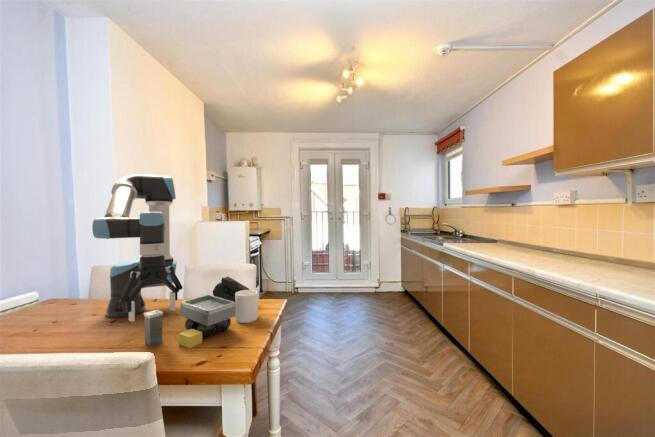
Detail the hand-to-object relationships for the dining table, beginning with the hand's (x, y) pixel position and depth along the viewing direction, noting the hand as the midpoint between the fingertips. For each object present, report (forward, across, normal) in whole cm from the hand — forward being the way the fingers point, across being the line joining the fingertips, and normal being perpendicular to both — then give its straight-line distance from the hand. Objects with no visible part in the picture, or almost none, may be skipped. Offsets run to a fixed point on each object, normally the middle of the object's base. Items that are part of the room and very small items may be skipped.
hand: (153, 315), depth 103 cm
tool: (+10, +41, +10) cm, 44 cm away
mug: (+10, +35, -8) cm, 38 cm away
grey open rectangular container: (+10, +17, -6) cm, 21 cm away
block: (+10, +8, -11) cm, 17 cm away
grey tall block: (+10, 0, 0) cm, 10 cm away
